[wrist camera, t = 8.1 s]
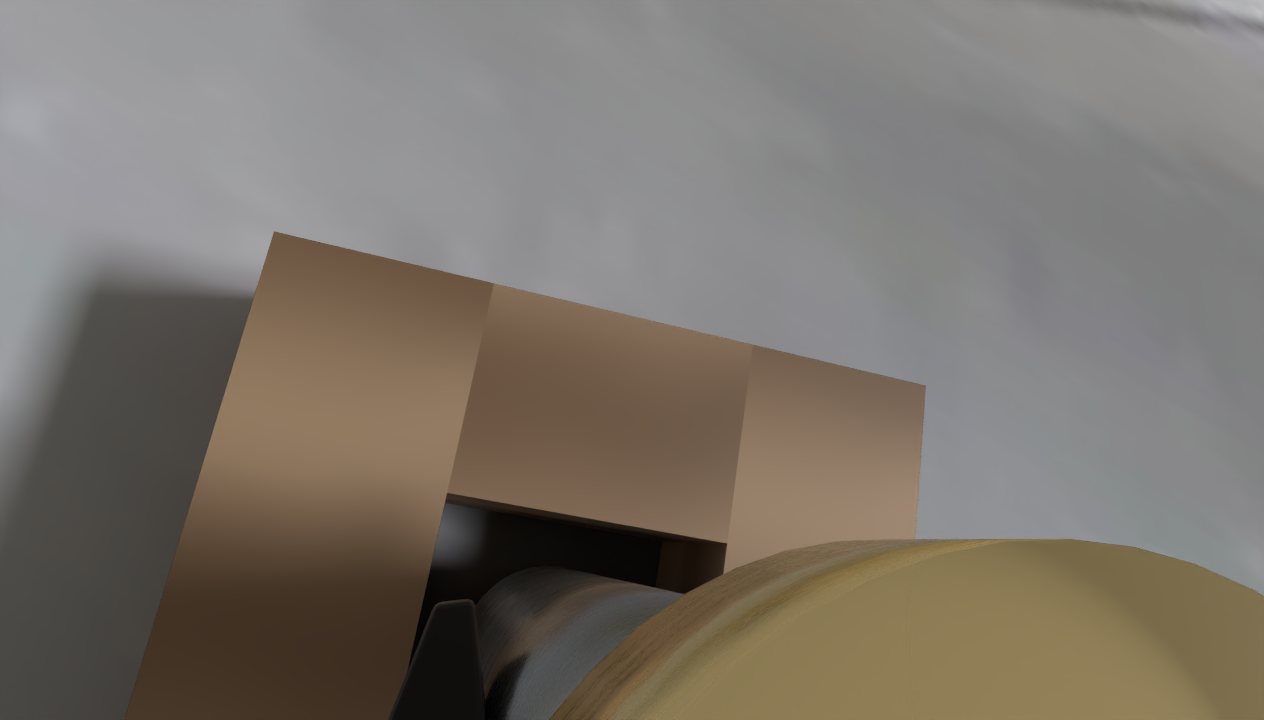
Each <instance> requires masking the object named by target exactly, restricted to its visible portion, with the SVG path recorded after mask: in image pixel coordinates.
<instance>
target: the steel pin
mask: <svg viewBox="0 0 1264 720" xmlns="http://www.w3.org/2000/svg"><path fill="white" fill-rule="evenodd" d="M475 608H476V617H477V626H478V636H479V645H480V654H481V664H482V673H483V682H484V694H485V720H1264V596H1263V595H1261V594H1260V593H1258V592H1256V591H1255V590H1253V589H1250V588H1248V587H1246V586H1244V585H1241V584H1239V583H1237V582H1235V581H1232V580H1230V579H1228V578H1226V577H1223V576H1221V575H1219V574H1217V573H1214V572H1212V571H1210V570H1208V569H1205V568H1203V567H1201V566H1199V565H1196V564H1193V563H1190V562H1186V561H1183V560H1179V559H1175V558H1172V557H1168V556H1165V555H1161V554H1158V553H1154V552H1151V551H1147V550H1143V549H1140V548H1136V547H1131V546H1123V545H1114V544H1106V543H1098V542H1090V541H1082V540H1073V539H882V540H853V541H834V542H829V543H824V544H818V545H813V546H808V547H802V548H797V549H791V550H786V551H783V552H780V553H778V554H775V555H772V556H769V557H766V558H763V559H760V560H757V561H754V562H751V563H748V564H746V565H743V566H740V567H737V568H735V569H733V570H731V571H729V572H727V573H725V574H723V575H721V576H719V577H717V578H715V579H713V580H711V581H709V582H707V583H705V584H703V585H701V586H699V587H698V588H696V589H694V590H692V591H690V592H688V593H686V594H681V593H677V592H672V591H668V590H663V589H659V588H654V587H649V586H645V585H640V584H636V583H631V582H626V581H622V580H617V579H613V578H608V577H604V576H599V575H594V574H590V573H585V572H581V571H576V570H571V569H567V568H562V567H555V566H539V567H533V568H528V569H525V570H521V571H518V572H516V573H514V574H512V575H509V576H507V577H506V578H504V579H503V580H501V581H499V582H498V583H497V584H496V585H494V586H493V587H492V588H491V589H489V590H488V591H487V593H486V594H485V595H484V596H483V597H482V598H481V599H480V600H479V602H478V603H477V605H476V606H475Z"/></svg>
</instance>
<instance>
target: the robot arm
mask: <svg viewBox="0 0 1264 720" xmlns="http://www.w3.org/2000/svg"><path fill="white" fill-rule="evenodd" d="M388 720H485V694H484V682H483V673H482V664H481V654H480V645H479V636H478V626H477V617H476V608H475V603H474V602H473V601H472V600H470V599H462V600H453V601H445V602H439V603H437V604H436V605H435V606H434V608H433V609H432V612H431V614H430V616H429V619H428V621H427V624H426V626H425V629H424V631H423V634H422V636H421V639H420V641H419V644H418V646H417V649H416V651H415V654H414V656H413V659H412V661H411V664H410V666H409V669H408V671H407V674H406V676H405V679H404V681H403V684H402V686H401V689H400V691H399V694H398V696H397V699H396V701H395V704H394V706H393V709H392V711H391V714H390V716H389V719H388Z"/></svg>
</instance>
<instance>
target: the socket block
mask: <svg viewBox="0 0 1264 720" xmlns="http://www.w3.org/2000/svg"><path fill="white" fill-rule="evenodd" d="M925 390H926V386H925V385H921V384H917V383H912V382H908V381H904V380H900V379H895V378H891V377H887V376H883V375H878V374H874V373H870V372H866V371H862V370H857V369H853V368H849V367H845V366H840V365H836V364H832V363H828V362H824V361H819V360H815V359H811V358H807V357H802V356H798V355H794V354H790V353H785V352H781V351H777V350H773V349H769V348H764V347H760V346H756V345H752V344H747V343H743V342H739V341H735V340H730V339H726V338H722V337H718V336H714V335H709V334H705V333H701V332H697V331H692V330H688V329H684V328H680V327H676V326H671V325H667V324H663V323H659V322H654V321H650V320H646V319H642V318H637V317H633V316H629V315H625V314H621V313H616V312H612V311H608V310H604V309H599V308H595V307H591V306H587V305H583V304H578V303H574V302H570V301H566V300H561V299H557V298H553V297H549V296H544V295H540V294H536V293H532V292H528V291H523V290H519V289H515V288H511V287H506V286H502V285H498V284H494V283H490V282H485V281H481V280H477V279H473V278H468V277H464V276H460V275H456V274H451V273H447V272H443V271H439V270H435V269H430V268H426V267H422V266H418V265H413V264H409V263H405V262H401V261H397V260H392V259H388V258H384V257H380V256H375V255H371V254H367V253H363V252H358V251H354V250H350V249H346V248H342V247H337V246H333V245H329V244H325V243H320V242H316V241H312V240H308V239H304V238H299V237H295V236H291V235H287V234H282V233H278V232H274V234H273V237H272V240H271V243H270V247H269V250H268V253H267V256H266V260H265V263H264V266H263V269H262V273H261V276H260V279H259V282H258V286H257V289H256V292H255V295H254V299H253V302H252V305H251V309H250V312H249V315H248V318H247V322H246V325H245V328H244V331H243V335H242V338H241V341H240V344H239V348H238V351H237V354H236V357H235V361H234V364H233V367H232V370H231V374H230V377H229V380H228V384H227V387H226V390H225V393H224V397H223V400H222V403H221V406H220V410H219V413H218V416H217V419H216V423H215V426H214V429H213V432H212V436H211V439H210V442H209V445H208V449H207V452H206V455H205V459H204V462H203V465H202V468H201V472H200V475H199V478H198V481H197V485H196V488H195V491H194V494H193V498H192V501H191V504H190V507H189V511H188V514H187V517H186V520H185V524H184V527H183V530H182V534H181V537H180V540H179V543H178V547H177V550H176V553H175V556H174V560H173V563H172V566H171V569H170V573H169V576H168V579H167V582H166V586H165V589H164V592H163V595H162V599H161V602H160V605H159V608H158V612H157V615H156V618H155V622H154V625H153V628H152V631H151V635H150V638H149V641H148V644H147V648H146V651H145V654H144V657H143V661H142V664H141V667H140V670H139V674H138V677H137V680H136V683H135V687H134V690H133V693H132V697H131V700H130V703H129V706H128V710H127V713H126V716H125V719H124V720H388V719H389V716H390V714H391V711H392V709H393V706H394V704H395V701H396V699H397V696H398V694H399V691H400V689H401V686H402V684H403V681H404V679H405V676H406V674H407V670H408V666H409V661H410V657H411V652H412V648H413V643H414V639H415V634H416V630H417V625H418V621H419V616H420V612H421V607H422V603H423V599H424V594H425V590H426V585H427V581H428V576H429V572H430V567H431V563H432V558H433V554H434V549H435V545H436V540H437V536H438V531H439V527H440V522H441V518H442V513H443V509H444V505H445V503H451V504H456V505H462V506H468V507H473V508H479V509H484V510H490V511H496V512H501V513H507V514H512V515H518V516H524V517H529V518H535V519H540V520H546V521H552V522H557V523H563V524H569V525H574V526H580V527H585V528H591V529H597V530H602V531H608V532H613V533H619V534H625V535H630V536H636V537H641V538H647V539H653V540H658V541H662V547H661V553H660V560H659V567H658V573H657V580H656V587H655V588H659V589H663V590H668V591H672V592H677V593H681V594H686V593H688V592H690V591H692V590H694V589H696V588H698V587H699V586H701V585H703V584H705V583H707V582H709V581H711V580H713V579H715V578H717V577H719V576H721V575H723V574H725V573H727V572H729V571H731V570H733V569H735V568H737V567H740V566H743V565H746V564H748V563H751V562H754V561H757V560H760V559H763V558H766V557H769V556H772V555H775V554H778V553H780V552H783V551H786V550H791V549H797V548H802V547H808V546H813V545H818V544H824V543H829V542H834V541H853V540H882V539H915V536H916V522H917V507H918V493H919V478H920V463H921V449H922V434H923V419H924V405H925Z"/></svg>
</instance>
